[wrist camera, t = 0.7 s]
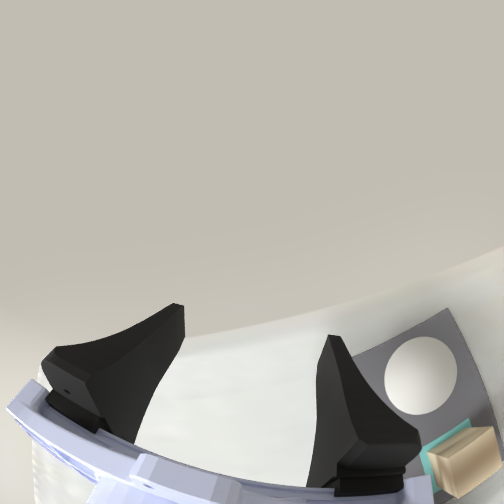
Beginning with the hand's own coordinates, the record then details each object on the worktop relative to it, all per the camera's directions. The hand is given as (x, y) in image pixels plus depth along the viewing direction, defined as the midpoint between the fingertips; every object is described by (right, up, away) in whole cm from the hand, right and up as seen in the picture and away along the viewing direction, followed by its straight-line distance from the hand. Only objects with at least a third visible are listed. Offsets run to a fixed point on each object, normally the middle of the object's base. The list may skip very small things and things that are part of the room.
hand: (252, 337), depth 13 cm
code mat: (+18, -12, +5) cm, 22 cm away
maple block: (+19, -15, +1) cm, 24 cm away
